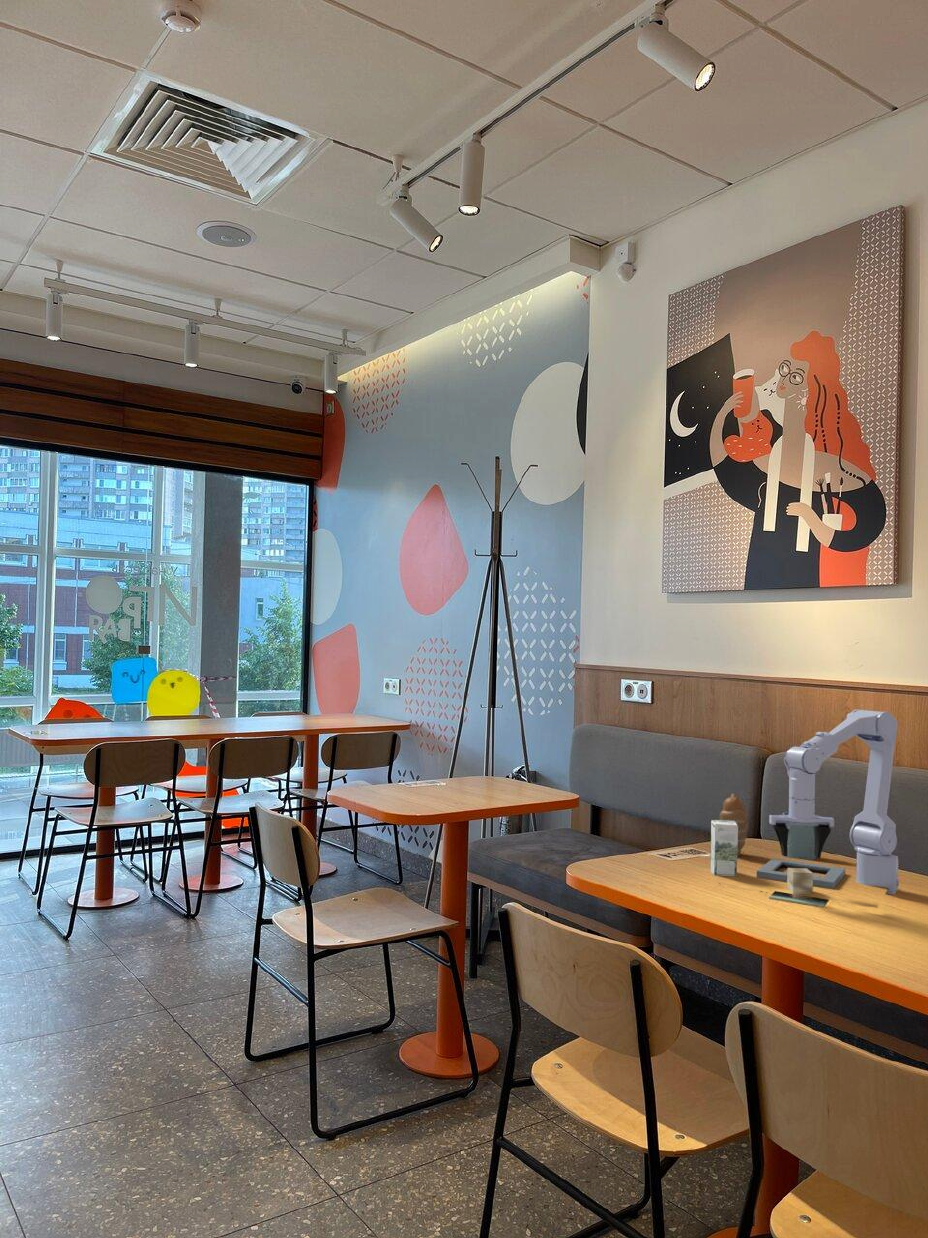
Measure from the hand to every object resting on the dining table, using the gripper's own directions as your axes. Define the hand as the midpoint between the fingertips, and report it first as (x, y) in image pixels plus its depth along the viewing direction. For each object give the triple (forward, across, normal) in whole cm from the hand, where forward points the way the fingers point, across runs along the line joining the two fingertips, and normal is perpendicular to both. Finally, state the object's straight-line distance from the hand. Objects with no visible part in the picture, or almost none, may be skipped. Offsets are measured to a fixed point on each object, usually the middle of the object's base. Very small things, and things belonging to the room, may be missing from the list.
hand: (800, 856), depth 214 cm
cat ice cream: (+10, +6, -39) cm, 40 cm away
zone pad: (+10, 0, 0) cm, 10 cm away
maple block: (+9, 0, 0) cm, 9 cm away
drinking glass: (+10, -14, -46) cm, 49 cm away
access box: (+10, -5, -16) cm, 20 cm away
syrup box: (+10, +14, -16) cm, 23 cm away
